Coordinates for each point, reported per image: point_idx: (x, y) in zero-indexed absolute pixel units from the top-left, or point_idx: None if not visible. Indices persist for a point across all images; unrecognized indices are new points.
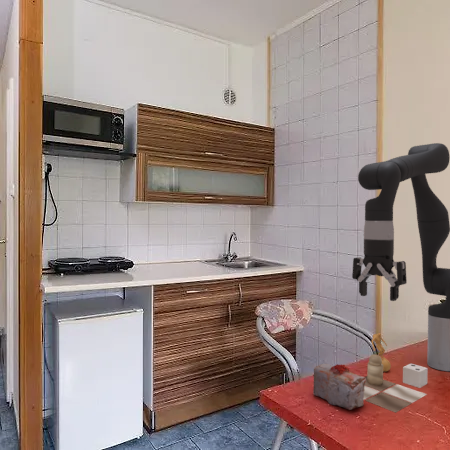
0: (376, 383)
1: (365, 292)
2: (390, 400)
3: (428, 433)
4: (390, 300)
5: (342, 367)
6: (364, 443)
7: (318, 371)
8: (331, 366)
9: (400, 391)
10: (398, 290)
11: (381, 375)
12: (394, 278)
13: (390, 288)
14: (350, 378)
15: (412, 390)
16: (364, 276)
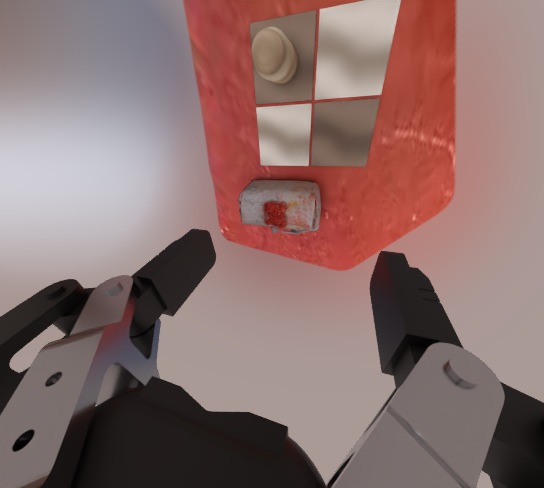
0: (291, 78)
1: (201, 249)
2: (342, 127)
3: (426, 188)
4: (370, 282)
5: (278, 217)
6: (359, 259)
7: (252, 224)
8: (256, 207)
9: (341, 55)
10: (447, 322)
11: (293, 60)
12: (441, 453)
13: (383, 358)
14: (303, 225)
15: (363, 11)
16: (159, 377)
